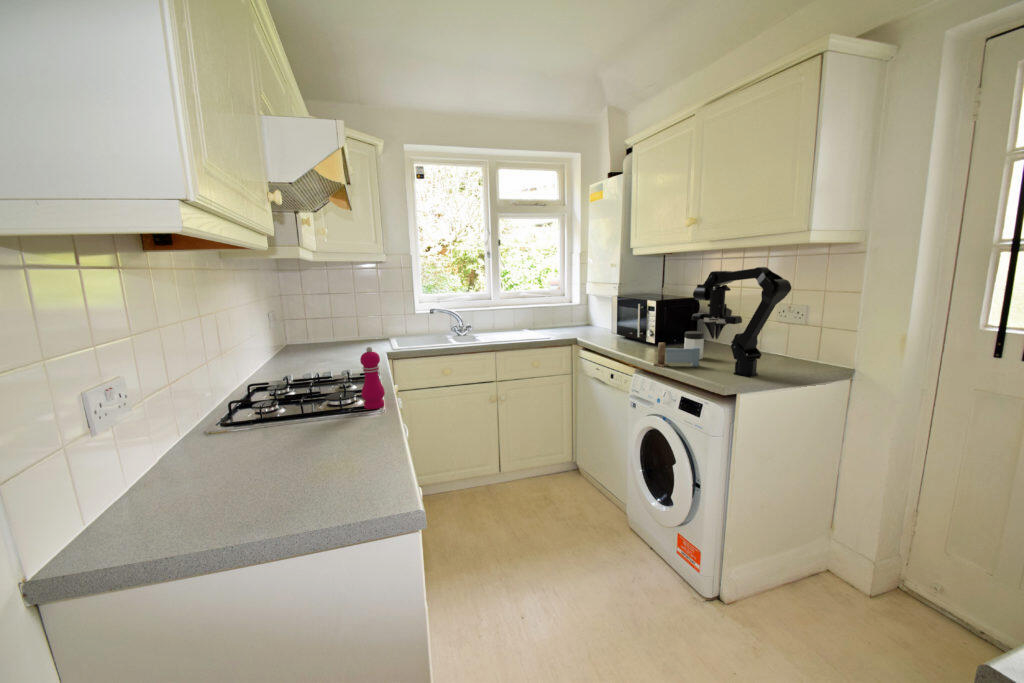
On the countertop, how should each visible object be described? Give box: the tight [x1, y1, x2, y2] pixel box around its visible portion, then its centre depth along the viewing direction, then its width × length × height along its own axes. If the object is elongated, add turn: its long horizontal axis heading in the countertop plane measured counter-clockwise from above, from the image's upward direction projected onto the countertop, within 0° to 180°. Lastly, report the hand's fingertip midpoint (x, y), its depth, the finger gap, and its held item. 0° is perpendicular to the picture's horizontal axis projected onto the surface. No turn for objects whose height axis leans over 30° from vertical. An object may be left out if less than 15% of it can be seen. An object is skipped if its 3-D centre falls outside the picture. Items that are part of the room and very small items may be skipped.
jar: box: [683, 330, 705, 360], centre depth 192 cm, size 9×8×12 cm
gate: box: [665, 347, 700, 367], centre depth 178 cm, size 13×2×8 cm, turn 79°
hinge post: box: [653, 342, 670, 368], centre depth 179 cm, size 4×4×10 cm
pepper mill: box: [360, 346, 386, 410], centre depth 135 cm, size 7×7×20 cm
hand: (714, 338), depth 174 cm, fingers closed
